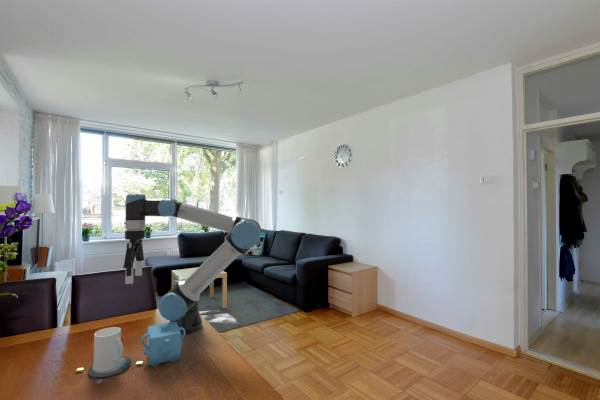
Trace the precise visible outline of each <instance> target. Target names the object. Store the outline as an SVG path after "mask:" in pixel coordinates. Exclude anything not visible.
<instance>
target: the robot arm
mask: <svg viewBox="0 0 600 400" xmlns="http://www.w3.org/2000/svg"><path fill="white" fill-rule="evenodd" d="M124 205H125V217H124V218H125V221H124V222H123V225H125V227H124V228H125V229H124V230H125V231H124V240H129V242H127V243H126V251H125V257H124V263H123V265H122V267H123V268H122V269H125V277H124V278H125V285H130V284H131V285H132V284H134V276H135V277H138V276H139V277H141V276H143V261H145V256H144V247H143V240H144V239H146V231H145V229H146V217H163V218H164V217H166V218H167V217H173V218H178V219H181V220H185V221H188V222H190V223H195V224H198V225H201V226H206V227H209V228H212V229H214V230H218V231H223V232H226V233H227V234H226V235H225V236H224V242H223V243H221V245H219V247H218V248H217V249H216V250H215V251H213V253H211V254H210V256H209V257H207V259H206V260H204V262H203V263H202V264H200V266H198V268H197V269H195V271H194V272H193V271H192V273H191V274H190V276H189V275H188V277H187V278H185V279H184V278H181V279H175V280H173V283H172V288H171V289H170V290H169V291H168V292H167V293H166V294H163V296H161V298H160V300H159V301H158V302H159V303H158V312H159V314H160V316H161V317H162V318H164V319H165V320H166V321H169V322H168V323H171V322H177V324H178V327H182V328H184V329H185V332H186V333H185V335H189V334H192V333H196V332H199V330H201V329H202V328H203V320H202V317H201V316H202V315H201V313H200V311H199V310H200V309H199V308H200V304H199V302H200V298H201V297H200V294H201V293H202V292H204V290H205V289H207V288H208V286H209V285H211V283H213V282H214V281H215V280H216V278H217V277H218V276H219V275H221V274H222V272H224V270H226V269H227V267H228V266H230V264H232V263H233V261H235V259H237V257H239V256H245V254H246V253H247V252H248V251H250V250H251V249H252V248H253V247H255V246H256V245H257V244H258V243H259V241H260V238H261V235H262V227H261V225H260V223H259V222H258V221H256V220H255V219H252V218H245V217H241V216H235V217H233V216H230V215H226V214H223V213H220V212H215V211H213V210H209V209H205V208H203V207H199V206H195V205H192V204H188V203H185V202H181V201H179V200H176V199H173V198H171V199H168V198H147V196H146V194H143V193H128V194H127V195H126V197H125V204H124ZM134 265H135V267H134ZM180 332H181V336H182V334H183V331H182V330H180Z"/></svg>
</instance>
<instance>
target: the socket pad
mask: <svg viewBox="0 0 600 400" xmlns="http://www.w3.org/2000/svg"><path fill="white" fill-rule="evenodd" d="M120 359H121V363H120V364H119V365H118V366H117V367H115V368H113V369H111V370H107V371H102V372H98V371H94V370H93V364H91V365H90V366H89V368H88V371H87V375H88V376H89V378H91V379H98V380H97V382H96V383H95V386H102V384H103V383H104V379H106V378H107V379H108V378H112V377H115V376H117V375H120V374H122V373H125V372H126V371H127V370H128V369H129V368H130V367H131V365H132V359H131V358H130V357H129V356H126V355H122V356H121V358H120ZM143 364H144V361H143V360H142V361H141V360H140V361H136V363H135V366H136V367H139V366H140V367H141V366H142V365H143ZM84 371H85V367H78V368H77V369H76V370H75V373H76V374H78V373H84Z"/></svg>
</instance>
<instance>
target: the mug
mask: <svg viewBox="0 0 600 400" xmlns="http://www.w3.org/2000/svg"><path fill="white" fill-rule="evenodd" d="M121 337H122V328H121V327H116V326H113V327H112V326H111V327H106V328H101V329H98V330H97V331H96V332H95V333H94V335H93V340H94V341H93V364H92V365H93V370H94V371H98V372H102V371H107V370H111V369H113V368H115V367H117V366H118V365H119V364H120V363H121V359H120V358H121V356H123V354H124V345H123V343H122V338H121Z"/></svg>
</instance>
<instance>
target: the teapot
mask: <svg viewBox="0 0 600 400" xmlns="http://www.w3.org/2000/svg"><path fill="white" fill-rule="evenodd" d="M180 330H182V331H183V334H182V335H181V332H180ZM185 333H186V332H185V329H184V328H182V327H178V324H177V322H171V323H169V322H166V323H161V324H156V325H155V324H154V325H149V326H147V333H145V334H144V335H143V336H142V337H141V340H140V342H141V345H142V346H143V347H144V348H145V349H144V350H143V355H144V356H147V357H148V363H149V366H151V367H158V366H159V365H160V364H162V363H166V362H170V363H173V362H174V361H175V362H177V361H178V359H181V358H182V357H181V356H182V355H181V354H182V353H181V352H182V351H181V350H182V348H183V346H184V343H183V342H182V340H183V339H184V338H185V336H186V334H185ZM146 338H147V343H146V342H145V339H146ZM176 360H177V361H176Z"/></svg>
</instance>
